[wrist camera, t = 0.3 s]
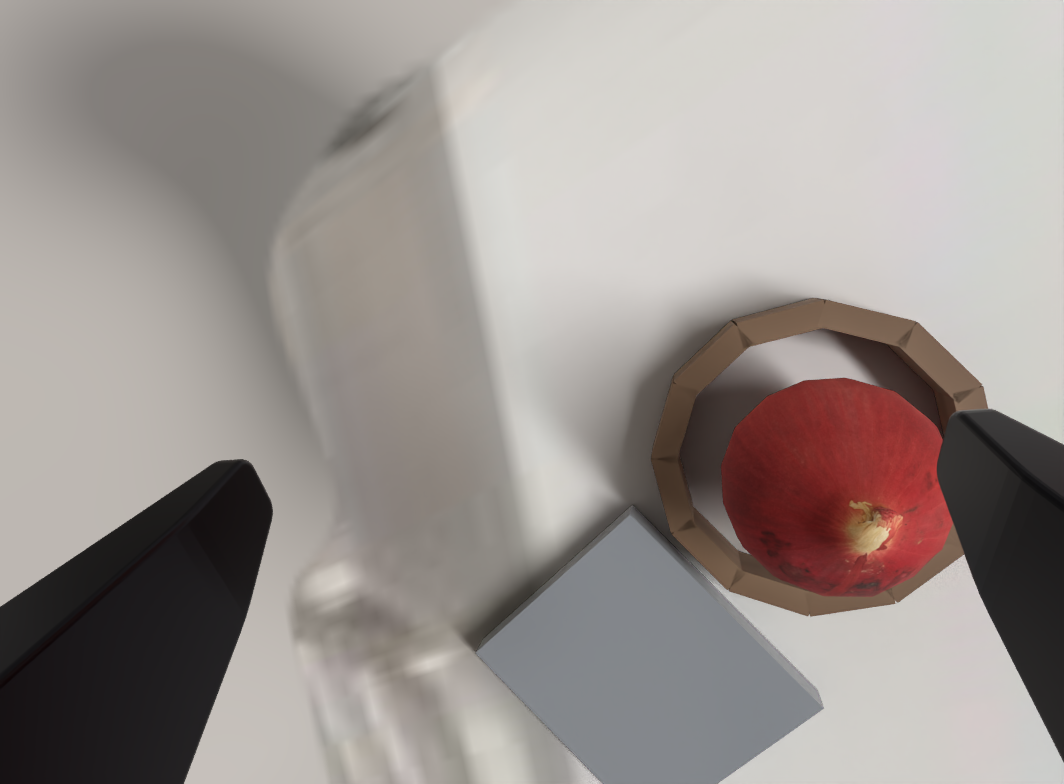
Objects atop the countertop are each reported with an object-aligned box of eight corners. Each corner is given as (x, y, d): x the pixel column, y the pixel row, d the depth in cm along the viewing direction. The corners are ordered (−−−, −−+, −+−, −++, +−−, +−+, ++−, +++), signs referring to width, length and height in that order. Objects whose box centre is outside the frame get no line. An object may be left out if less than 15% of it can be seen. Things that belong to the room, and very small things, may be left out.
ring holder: (1044, 458, 20) (1074, 473, 19) (798, 643, 23) (806, 669, 21) (817, 238, 21) (828, 235, 19) (599, 445, 23) (594, 456, 22)
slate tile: (817, 690, 23) (824, 708, 22) (650, 810, 25) (649, 831, 24) (632, 504, 23) (630, 514, 22) (483, 638, 26) (475, 652, 25)
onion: (905, 534, 22) (1028, 676, 14) (721, 537, 23) (741, 668, 15) (902, 355, 21) (1031, 402, 13) (710, 369, 22) (725, 419, 14)
